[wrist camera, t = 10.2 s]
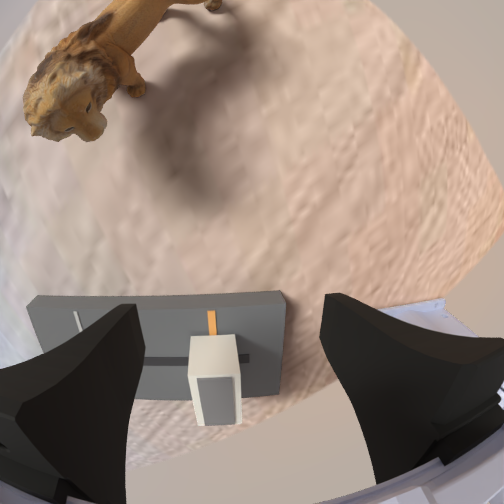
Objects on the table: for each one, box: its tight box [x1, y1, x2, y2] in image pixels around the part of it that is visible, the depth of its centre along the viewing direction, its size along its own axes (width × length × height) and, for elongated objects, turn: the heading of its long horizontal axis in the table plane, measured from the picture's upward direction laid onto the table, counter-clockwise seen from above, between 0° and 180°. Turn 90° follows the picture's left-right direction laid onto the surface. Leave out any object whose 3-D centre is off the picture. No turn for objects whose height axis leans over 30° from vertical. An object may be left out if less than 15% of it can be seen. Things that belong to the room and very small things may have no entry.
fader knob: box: [188, 334, 242, 426], centre depth 18 cm, size 3×5×4 cm, turn 0°
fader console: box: [26, 290, 286, 400], centre depth 20 cm, size 20×9×2 cm, turn 90°
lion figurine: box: [23, 0, 222, 142], centre depth 10 cm, size 15×5×9 cm, turn 152°
